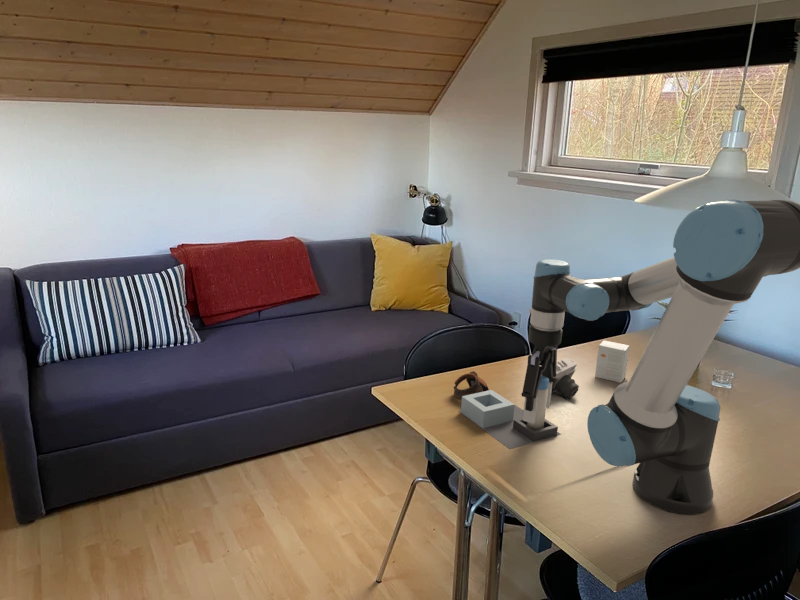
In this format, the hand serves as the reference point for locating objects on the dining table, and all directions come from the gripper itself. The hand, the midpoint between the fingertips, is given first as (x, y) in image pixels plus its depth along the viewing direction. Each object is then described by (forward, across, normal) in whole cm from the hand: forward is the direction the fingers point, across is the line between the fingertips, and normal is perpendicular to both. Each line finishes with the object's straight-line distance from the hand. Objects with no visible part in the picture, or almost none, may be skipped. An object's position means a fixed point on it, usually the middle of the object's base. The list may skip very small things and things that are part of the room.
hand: (536, 413), depth 143 cm
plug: (+5, 0, 0) cm, 5 cm away
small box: (+6, -48, +6) cm, 49 cm away
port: (+5, 0, -13) cm, 14 cm away
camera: (+6, -26, -3) cm, 26 cm away
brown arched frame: (+6, -9, -22) cm, 24 cm away
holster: (+5, 0, 0) cm, 5 cm away
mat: (+6, 0, -7) cm, 9 cm away
